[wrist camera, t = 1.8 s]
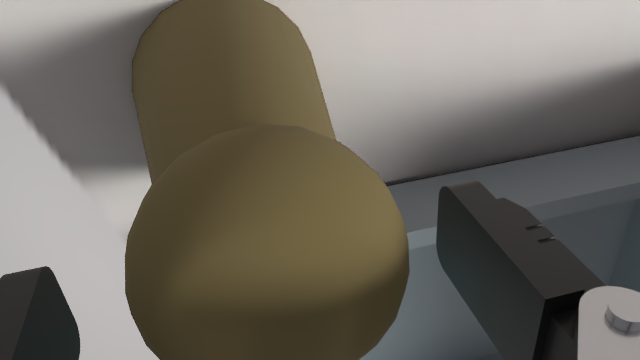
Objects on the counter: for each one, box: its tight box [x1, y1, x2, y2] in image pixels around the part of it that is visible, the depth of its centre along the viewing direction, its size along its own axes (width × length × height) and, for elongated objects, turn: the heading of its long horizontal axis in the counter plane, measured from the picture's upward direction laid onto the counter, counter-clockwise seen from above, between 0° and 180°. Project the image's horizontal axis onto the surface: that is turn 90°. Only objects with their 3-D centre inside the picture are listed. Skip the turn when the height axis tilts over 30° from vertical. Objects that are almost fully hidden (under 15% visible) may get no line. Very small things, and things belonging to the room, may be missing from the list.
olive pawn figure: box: [125, 0, 410, 360], centre depth 13 cm, size 6×6×11 cm
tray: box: [360, 136, 640, 360], centre depth 23 cm, size 12×17×5 cm
